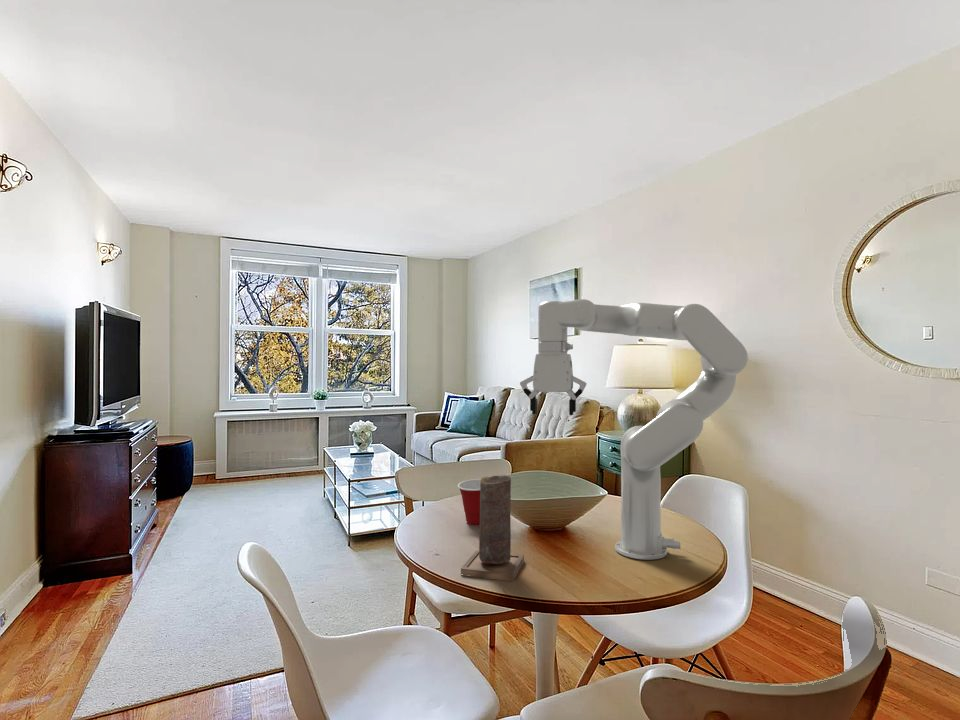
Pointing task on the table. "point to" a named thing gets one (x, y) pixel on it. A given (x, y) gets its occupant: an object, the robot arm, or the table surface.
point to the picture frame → (493, 567)
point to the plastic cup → (471, 500)
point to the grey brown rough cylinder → (495, 519)
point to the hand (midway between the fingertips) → (552, 414)
